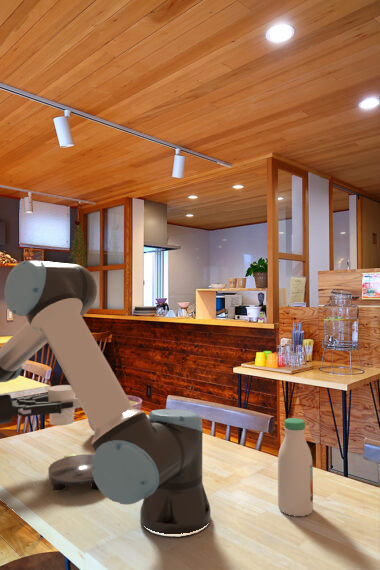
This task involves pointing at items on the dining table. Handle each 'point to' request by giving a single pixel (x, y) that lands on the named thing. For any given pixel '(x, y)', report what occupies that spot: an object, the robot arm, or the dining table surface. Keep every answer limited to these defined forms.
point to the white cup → (56, 395)
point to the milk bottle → (295, 471)
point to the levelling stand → (72, 472)
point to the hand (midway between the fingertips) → (78, 399)
